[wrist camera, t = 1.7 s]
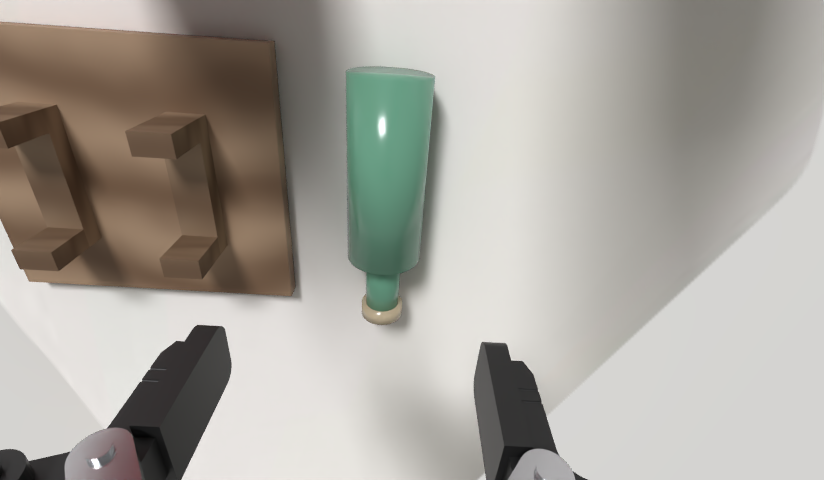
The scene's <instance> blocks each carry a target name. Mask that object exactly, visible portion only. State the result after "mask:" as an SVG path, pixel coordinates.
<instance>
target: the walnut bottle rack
mask: <svg viewBox="0 0 824 480" xmlns="http://www.w3.org/2000/svg"><path fill="white" fill-rule="evenodd" d="M0 219H1V221H2V224H3V226H4V228H5V230H6V232H7V234H8V237H9V239H10V241H11V243H12V245H13V247H14V249H12V250H11V251H12V253H13V255H14V257H15V260H16V262H17V264H18V266H19V268H20V269H24V271H25V274H26V276H27V278H28V280H29V281H30V282H48V283H66V284H84V285H102V286H120V287H138V288H156V289H173V290H191V291H209V292H227V293H245V294H263V295H281V296H292V294H293V292H294V289H295V276H294V265H293V253H292V241H291V230H290V218H289V206H288V195H287V183H286V171H285V160H284V148H283V136H282V125H281V113H280V101H279V90H278V78H277V66H276V55H275V43H274V41H263V40H249V39H235V38H221V37H207V36H193V35H179V34H165V33H151V32H137V31H123V30H109V29H95V28H81V27H67V26H53V25H39V24H25V23H11V22H0Z"/></svg>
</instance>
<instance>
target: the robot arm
mask: <svg viewBox="0 0 824 480" xmlns="http://www.w3.org/2000/svg"><path fill="white" fill-rule="evenodd" d="M230 374H231V358H230V353H229V347H228V342H227V337H226V332H225V329H224V327H222V326H206V325H197V326H195V327H194V328H193V330H192V331H191V333H190V334H189V336H188V337H187V339H186V340H185V342H183V341H176V342H175V343H173V344H172V345H171V346H169V347H168V348H167V349H165V350H164V351H163V352H162V353H160V355H159V356H158V358H157V359H156V360H155V362H154V363H153V365H152V366H151V369H150V370H148V372H147V373H146V375H145V376H144V377H143V379H142V382H140V383H139V384H138V386H137V387H136V389H135V390H134V391H133V393H132V394H131V396H130V397H129V399H128V400H127V401H126V403H125V404H124V406H123V407H122V408H121V410H120V411H119V413H118V414H117V415H116V417H115V418H114V420H113V421H112V422H111V424H110V425H109V426H108V428H107V429H103V430H100V431H98V432H95V433H93V434H91V435H89V436H88V437H86V438H85V439H83V440H82V441H81V442H80V443H78V444H77V445H76V446H75V447H74V448H73V449H72V451H71V452H67V453H63V454H59V455H54V456H50V457H46V458H41V459H37V460H32V461H28V460H27V458H26V456H25V455H24V454H23V453H22V452H21V451H18V450H14V449H6V450H0V480H181V479H182V477H183V475H184V472H185V470H186V468H187V466H188V464H189V462H190V460H191V458H192V456H193V454H194V452H195V450H196V448H197V446H198V443H199V441H200V439H201V437H202V435H203V433H204V431H205V429H206V427H207V425H208V423H209V421H210V419H211V417H212V414H213V412H214V410H215V408H216V406H217V404H218V402H219V400H220V398H221V396H222V394H223V392H224V390H225V388H226V385H227V383H228V381H229V378H230ZM474 398H475V405H476V412H477V419H478V426H479V433H480V439H481V446H482V453H483V460H484V467H485V474H486V480H587V479H585V478H582V477H580V476H579V475H577V474H576V473H574V472H573V471H572V469H571V468H570V466H569V465H568V464H567V462H565V461H564V459H562V458H561V457H560V456H559V454H558V452H557V450H556V447H555V443H554V440H553V437H552V434H551V430H550V427H549V424H548V421H547V417H546V414H545V411H544V408H543V404H541V398H540V395H539V392H538V388H537V385H536V382H535V379H534V375H533V374H532V372H531V371H530V370H529V369H528V367H527V366H526V365H525V364H524V362H523V361H511V358H510V355H509V351H508V347H507V345H506V344H505V343H491V342H482V343H481V346H480V351H479V356H478V361H477V366H476V371H475V376H474Z"/></svg>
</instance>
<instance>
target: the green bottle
mask: <svg viewBox="0 0 824 480" xmlns="http://www.w3.org/2000/svg"><path fill="white" fill-rule="evenodd" d="M434 84H435V76H434V75H433V74H430V73H427V72H424V71H419V70H413V69H406V68H394V67H357V68H351V69H348V70H347V71H346V123H347V218H348V259H349V261H350V262H351V264H352V265H353V266H355V267H356V268H358V269H360V270H362V271H364V272H366V294H365V296H364V297H363V299H362V315H363V317H364V318H365V319H366V320H367V321H368V322H370V323H373V324H377V325H387V324H391V323H394V322H395V321H397V320H398V319H399V318H400V316H401V312H402V299H401V297H400V296H399V280H400V273H403V272H406V271H408V270H410V269H412V268H413V267H414V266H416V264H417V263H418V261H419V257H420V245H421V234H422V222H423V211H424V199H425V188H426V176H427V165H428V153H429V142H430V130H431V119H432V107H433V96H434Z"/></svg>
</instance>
